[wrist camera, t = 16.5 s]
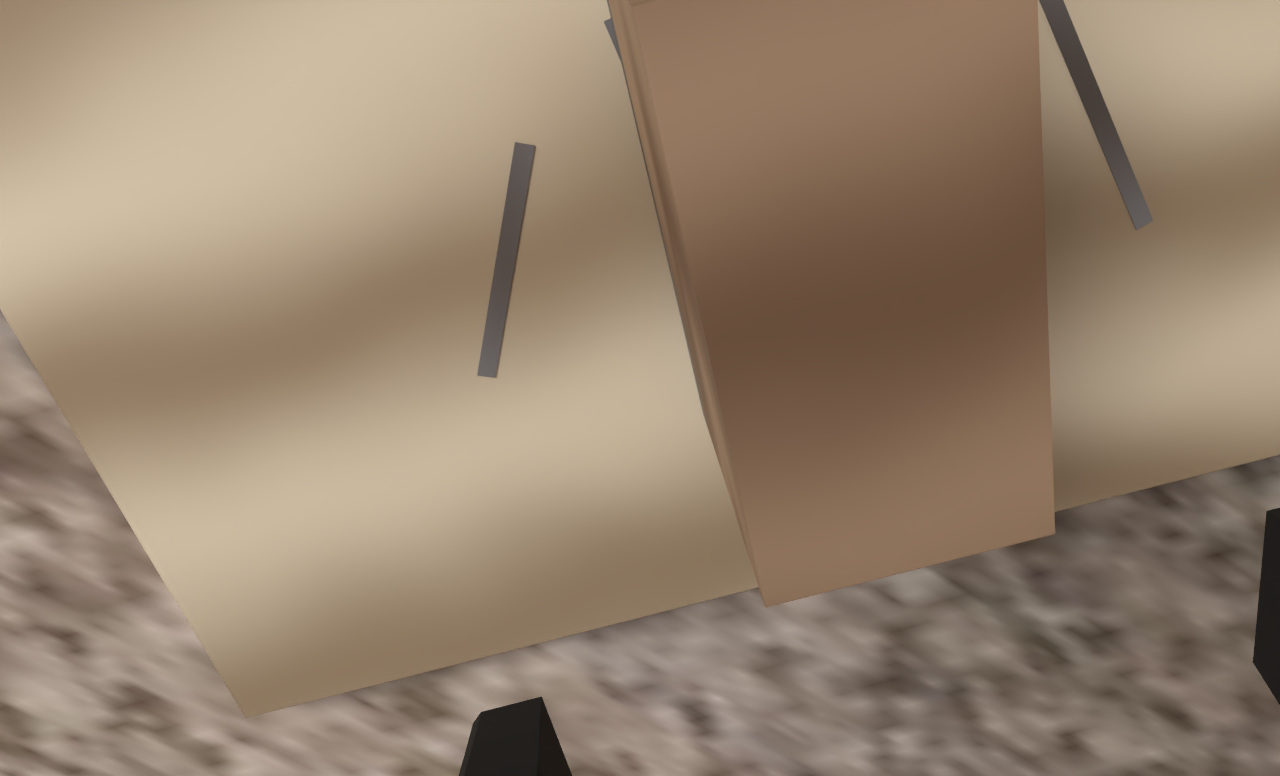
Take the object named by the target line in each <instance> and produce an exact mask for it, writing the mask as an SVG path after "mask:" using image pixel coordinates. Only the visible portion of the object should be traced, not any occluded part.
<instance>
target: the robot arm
mask: <svg viewBox="0 0 1280 776" xmlns="http://www.w3.org/2000/svg"><path fill="white" fill-rule="evenodd" d="M1253 663H1254V665H1255V666H1256V668H1257V669H1258V671H1259V673H1260V674H1261V676H1262V677H1263V679H1264V681H1265V682H1266V684H1267V685H1268V687H1269V688H1270V690H1271V692H1272V693H1273V695H1274V696H1275V698H1276V700H1277V701H1278V703H1279V704H1280V508H1277V509H1273V510H1269V511H1267V513H1266V524H1265V535H1264V546H1263V557H1262V568H1261V580H1260V591H1259V602H1258V613H1257V624H1256V635H1255V646H1254V657H1253ZM459 776H572V774H571V772H570V769H569V766H568V764H567V761H566V759H565V756H564V753H563V751H562V748H561V746H560V743H559V740H558V738H557V735H556V733H555V730H554V728H553V725H552V722H551V720H550V717H549V715H548V712H547V709H546V707H545V704H544V702H543V699H542V697H538V698H535V699H531V700H527V701H523V702H519V703H515V704H511V705H507V706H503V707H499V708H495V709H492V710H488V711H484V712H481V713H480V714H479V716H478V717H477V719H476V720H475V721H474V723H473V726H472V730H471V733H470V737H469V741H468V745H467V748H466V752H465V756H464V759H463V762H462V766H461V769H460V773H459Z"/></svg>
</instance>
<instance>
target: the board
mask: <svg viewBox="0 0 1280 776" xmlns="http://www.w3.org/2000/svg"><path fill="white" fill-rule="evenodd" d="M1038 30H1039V60H1040V90H1041V120H1042V150H1043V181H1044V211H1045V241H1046V271H1047V301H1048V332H1049V362H1050V392H1051V422H1052V452H1053V482H1054V512H1057V511H1061V510H1064V509H1068V508H1072V507H1076V506H1080V505H1084V504H1088V503H1092V502H1096V501H1100V500H1104V499H1108V498H1112V497H1116V496H1119V495H1123V494H1127V493H1131V492H1135V491H1139V490H1143V489H1147V488H1151V487H1155V486H1159V485H1163V484H1167V483H1171V482H1174V481H1178V480H1182V479H1186V478H1190V477H1194V476H1198V475H1202V474H1206V473H1210V472H1214V471H1218V470H1222V469H1226V468H1229V467H1233V466H1237V465H1241V464H1245V463H1249V462H1253V461H1257V460H1261V459H1265V458H1269V457H1273V456H1277V455H1280V0H1038ZM0 310H1V311H2V313H3V315H4V316H5V318H6V320H7V321H8V323H9V325H10V326H11V328H12V330H13V331H14V333H15V335H16V336H17V338H18V340H19V341H20V343H21V345H22V346H23V348H24V350H25V351H26V353H27V355H28V356H29V358H30V360H31V361H32V363H33V365H34V366H35V368H36V370H37V371H38V373H39V375H40V376H41V378H42V380H43V381H44V383H45V385H46V386H47V388H48V390H49V391H50V393H51V395H52V396H53V398H54V400H55V401H56V403H57V405H58V406H59V408H60V410H61V411H62V413H63V415H64V416H65V418H66V419H67V421H68V423H69V424H70V426H71V428H72V429H73V431H74V433H75V434H76V436H77V438H78V439H79V441H80V443H81V444H82V446H83V448H84V449H85V451H86V453H87V454H88V456H89V458H90V459H91V461H92V463H93V464H94V466H95V468H96V469H97V471H98V473H99V474H100V476H101V478H102V479H103V481H104V483H105V484H106V486H107V488H108V489H109V491H110V493H111V494H112V496H113V498H114V499H115V501H116V503H117V504H118V506H119V508H120V509H121V511H122V513H123V514H124V516H125V518H126V519H127V521H128V523H129V524H130V526H131V528H132V529H133V531H134V533H135V534H136V536H137V538H138V539H139V541H140V543H141V544H142V546H143V548H144V549H145V551H146V553H147V554H148V556H149V558H150V559H151V561H152V563H153V564H154V566H155V568H156V569H157V571H158V573H159V574H160V576H161V578H162V579H163V581H164V583H165V584H166V586H167V588H168V589H169V591H170V593H171V594H172V596H173V598H174V599H175V601H176V603H177V604H178V606H179V608H180V609H181V611H182V613H183V614H184V616H185V618H186V619H187V621H188V623H189V624H190V626H191V628H192V629H193V631H194V633H195V634H196V636H197V638H198V639H199V641H200V643H201V644H202V646H203V648H204V649H205V651H206V653H207V654H208V656H209V658H210V659H211V661H212V663H213V664H214V666H215V668H216V669H217V671H218V673H219V674H220V676H221V678H222V679H223V681H224V683H225V684H226V686H227V688H228V689H229V691H230V693H231V694H232V696H233V698H234V699H235V701H236V703H237V704H238V706H239V708H240V709H241V711H242V712H243V714H244V716H245V717H246V718H247V717H251V716H255V715H259V714H263V713H267V712H271V711H275V710H279V709H283V708H287V707H291V706H295V705H298V704H302V703H306V702H310V701H314V700H318V699H322V698H326V697H330V696H334V695H338V694H342V693H346V692H350V691H353V690H357V689H361V688H365V687H369V686H373V685H377V684H381V683H385V682H389V681H393V680H397V679H401V678H405V677H408V676H412V675H416V674H420V673H424V672H428V671H432V670H436V669H440V668H444V667H448V666H452V665H456V664H460V663H463V662H467V661H471V660H475V659H479V658H483V657H487V656H491V655H495V654H499V653H503V652H507V651H511V650H515V649H518V648H522V647H526V646H530V645H534V644H538V643H542V642H546V641H550V640H554V639H558V638H562V637H566V636H570V635H573V634H577V633H581V632H585V631H589V630H593V629H597V628H601V627H605V626H609V625H613V624H617V623H621V622H625V621H628V620H632V619H636V618H640V617H644V616H648V615H652V614H656V613H660V612H664V611H668V610H672V609H676V608H680V607H683V606H687V605H691V604H695V603H699V602H703V601H707V600H711V599H715V598H719V597H723V596H727V595H731V594H734V593H738V592H742V591H746V590H750V589H754V588H758V587H759V586H758V583H757V580H756V577H755V574H754V571H753V568H752V564H751V561H750V558H749V555H748V552H747V549H746V546H745V543H744V540H743V536H742V533H741V530H740V527H739V524H738V521H737V518H736V515H735V512H734V508H733V505H732V502H731V499H730V496H729V493H728V490H727V487H726V483H725V480H724V477H723V474H722V471H721V468H720V465H719V462H718V459H717V455H716V452H715V449H714V446H713V443H712V440H711V437H710V434H709V431H708V427H707V424H706V421H705V418H704V415H703V411H702V407H701V402H700V398H699V394H698V390H697V385H696V381H695V377H694V372H693V368H692V364H691V360H690V355H689V351H688V347H687V342H686V338H685V334H684V330H683V325H682V321H681V317H680V312H679V308H678V304H677V299H676V295H675V291H674V287H673V282H672V278H671V274H670V269H669V265H668V261H667V257H666V252H665V248H664V244H663V239H662V235H661V231H660V227H659V222H658V218H657V214H656V209H655V205H654V201H653V196H652V192H651V188H650V184H649V179H648V175H647V171H646V166H645V162H644V158H643V154H642V149H641V145H640V141H639V136H638V132H637V128H636V124H635V119H634V115H633V111H632V106H631V102H630V98H629V93H628V89H627V85H626V81H625V76H624V72H623V68H622V63H621V59H620V55H619V51H618V46H617V42H616V38H615V33H614V29H613V25H612V21H611V16H610V12H609V8H608V3H607V0H0Z"/></svg>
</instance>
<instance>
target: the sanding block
mask: <svg viewBox="0 0 1280 776" xmlns="http://www.w3.org/2000/svg"><path fill="white" fill-rule="evenodd" d="M607 3H608V8H609V12H610V16H611V21H612V25H613V29H614V33H615V38H616V42H617V46H618V51H619V55H620V59H621V63H622V68H623V72H624V76H625V81H626V85H627V89H628V93H629V98H630V102H631V106H632V111H633V115H634V119H635V124H636V128H637V132H638V136H639V141H640V145H641V149H642V154H643V158H644V162H645V166H646V171H647V175H648V179H649V184H650V188H651V192H652V196H653V201H654V205H655V209H656V214H657V218H658V222H659V227H660V231H661V235H662V239H663V244H664V248H665V252H666V257H667V261H668V265H669V269H670V274H671V278H672V282H673V287H674V291H675V295H676V299H677V304H678V308H679V312H680V317H681V321H682V325H683V330H684V334H685V338H686V342H687V347H688V351H689V355H690V360H691V364H692V368H693V372H694V377H695V381H696V385H697V390H698V394H699V398H700V402H701V407H702V411H703V415H704V418H705V421H706V424H707V427H708V431H709V434H710V437H711V440H712V443H713V446H714V449H715V452H716V455H717V459H718V462H719V465H720V468H721V471H722V474H723V477H724V480H725V483H726V487H727V490H728V493H729V496H730V499H731V502H732V505H733V508H734V512H735V515H736V518H737V521H738V524H739V527H740V530H741V533H742V536H743V540H744V543H745V546H746V549H747V552H748V555H749V558H750V561H751V564H752V568H753V571H754V574H755V577H756V580H757V583H758V586H759V589H760V593H761V596H762V599H763V602H764V605H765V607H769V606H773V605H777V604H781V603H785V602H789V601H793V600H797V599H801V598H805V597H809V596H813V595H817V594H821V593H824V592H828V591H832V590H836V589H840V588H844V587H848V586H852V585H856V584H860V583H864V582H868V581H872V580H876V579H880V578H883V577H887V576H891V575H895V574H899V573H903V572H907V571H911V570H915V569H919V568H923V567H927V566H931V565H935V564H939V563H942V562H946V561H950V560H954V559H958V558H962V557H966V556H970V555H974V554H978V553H982V552H986V551H990V550H994V549H998V548H1001V547H1005V546H1009V545H1013V544H1017V543H1021V542H1025V541H1029V540H1033V539H1037V538H1041V537H1045V536H1049V535H1053V534H1055V513H1054V482H1053V452H1052V422H1051V392H1050V362H1049V332H1048V301H1047V271H1046V241H1045V211H1044V181H1043V150H1042V120H1041V90H1040V60H1039V30H1038V0H607Z"/></svg>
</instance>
